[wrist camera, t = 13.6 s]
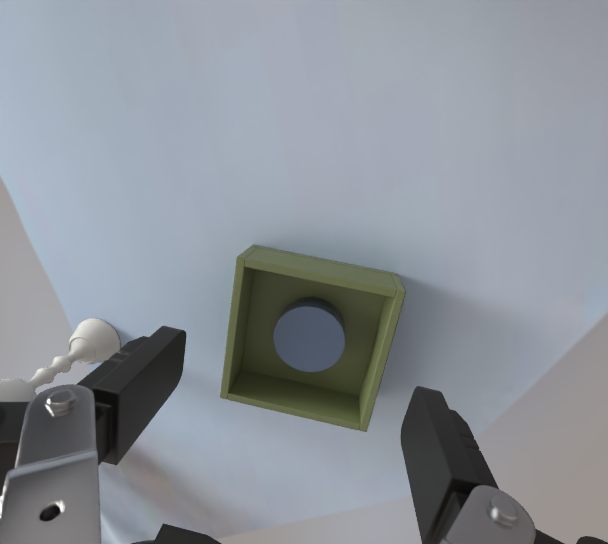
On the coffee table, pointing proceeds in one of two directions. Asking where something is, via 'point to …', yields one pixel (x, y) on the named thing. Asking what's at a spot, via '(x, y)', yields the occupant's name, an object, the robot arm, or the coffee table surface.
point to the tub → (265, 313)
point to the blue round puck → (310, 334)
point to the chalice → (67, 359)
